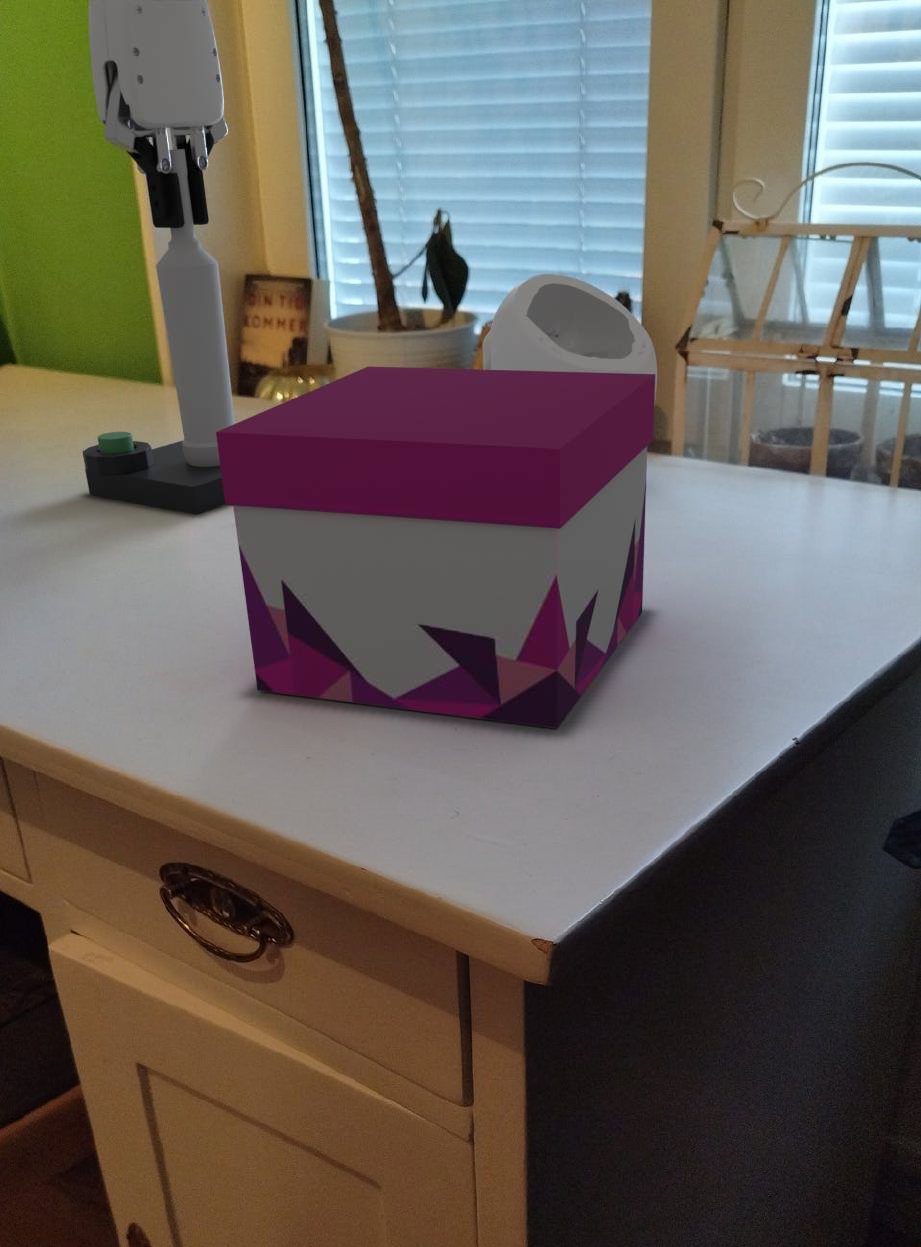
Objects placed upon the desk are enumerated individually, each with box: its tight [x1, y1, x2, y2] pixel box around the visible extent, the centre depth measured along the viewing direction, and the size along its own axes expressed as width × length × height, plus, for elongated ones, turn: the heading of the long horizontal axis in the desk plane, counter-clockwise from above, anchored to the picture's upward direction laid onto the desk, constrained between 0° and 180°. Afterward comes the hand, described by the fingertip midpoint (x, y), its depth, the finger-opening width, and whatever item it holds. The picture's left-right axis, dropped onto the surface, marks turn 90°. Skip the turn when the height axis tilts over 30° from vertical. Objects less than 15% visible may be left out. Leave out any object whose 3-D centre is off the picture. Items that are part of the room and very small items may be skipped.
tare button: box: [97, 431, 134, 454], centre depth 113 cm, size 3×3×2 cm
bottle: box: [155, 149, 236, 467], centre depth 109 cm, size 5×5×25 cm
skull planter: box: [481, 273, 658, 406], centre depth 112 cm, size 14×20×19 cm
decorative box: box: [216, 365, 656, 729], centre depth 75 cm, size 19×19×15 cm
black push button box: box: [82, 440, 226, 515], centre depth 115 cm, size 14×13×4 cm
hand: (181, 224), depth 105 cm, fingers closed on bottle, 2 cm apart
